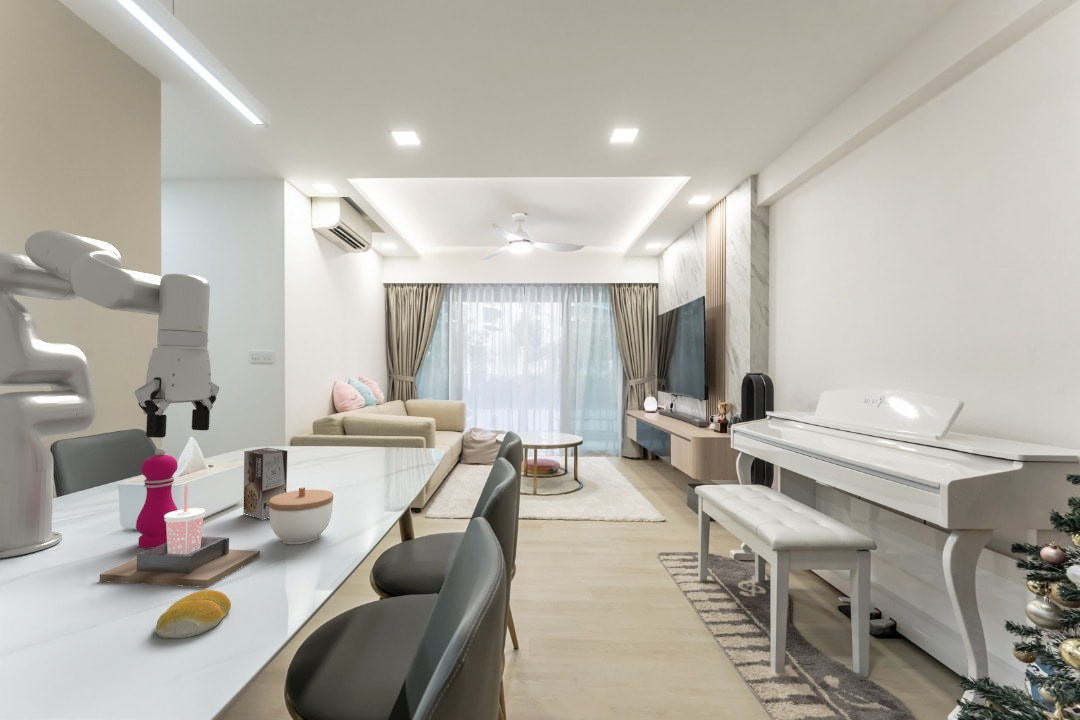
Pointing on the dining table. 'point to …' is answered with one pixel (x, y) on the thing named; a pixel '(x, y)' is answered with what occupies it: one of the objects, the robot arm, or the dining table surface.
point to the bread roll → (193, 614)
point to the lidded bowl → (300, 515)
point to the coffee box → (263, 479)
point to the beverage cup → (184, 528)
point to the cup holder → (183, 565)
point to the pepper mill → (156, 499)
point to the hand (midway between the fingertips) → (179, 433)
